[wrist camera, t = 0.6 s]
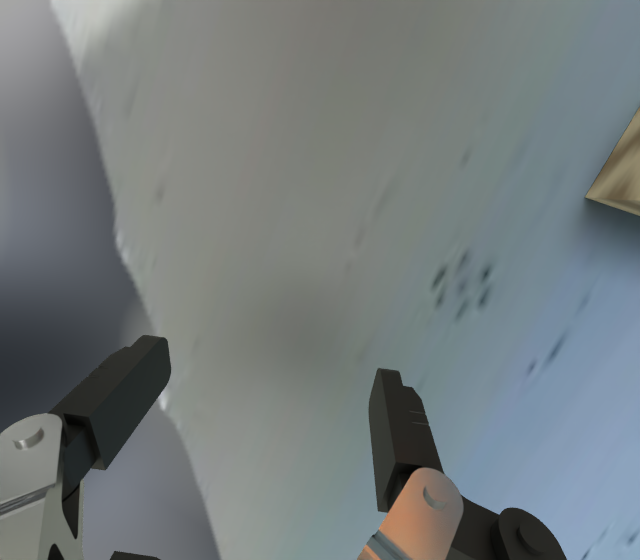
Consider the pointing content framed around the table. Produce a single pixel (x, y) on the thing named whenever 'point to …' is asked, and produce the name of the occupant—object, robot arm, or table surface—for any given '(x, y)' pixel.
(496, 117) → the table surface
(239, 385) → the table surface
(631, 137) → the key box
